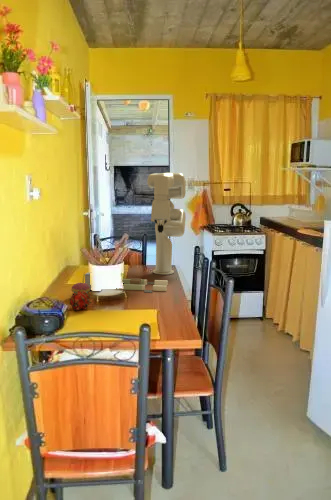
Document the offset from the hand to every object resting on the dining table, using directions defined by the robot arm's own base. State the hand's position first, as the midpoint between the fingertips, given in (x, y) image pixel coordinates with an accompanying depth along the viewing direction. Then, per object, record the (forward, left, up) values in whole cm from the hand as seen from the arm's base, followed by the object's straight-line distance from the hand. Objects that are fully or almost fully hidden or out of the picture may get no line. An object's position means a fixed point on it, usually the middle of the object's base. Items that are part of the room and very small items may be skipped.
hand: (160, 232), depth 227 cm
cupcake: (+38, -34, -27) cm, 58 cm away
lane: (+14, -8, -27) cm, 31 cm away
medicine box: (+24, -31, -27) cm, 48 cm away
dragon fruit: (+55, -30, -27) cm, 68 cm away
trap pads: (+14, -4, -27) cm, 31 cm away
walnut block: (+14, -11, -27) cm, 33 cm away
